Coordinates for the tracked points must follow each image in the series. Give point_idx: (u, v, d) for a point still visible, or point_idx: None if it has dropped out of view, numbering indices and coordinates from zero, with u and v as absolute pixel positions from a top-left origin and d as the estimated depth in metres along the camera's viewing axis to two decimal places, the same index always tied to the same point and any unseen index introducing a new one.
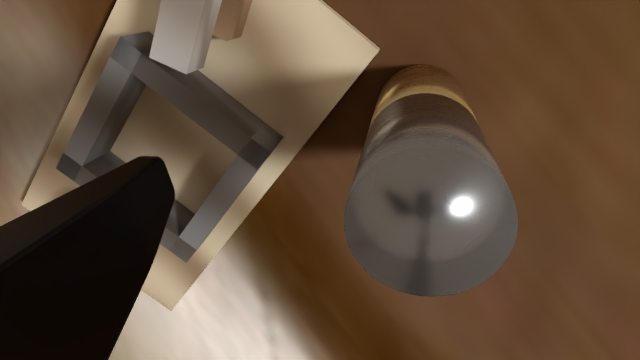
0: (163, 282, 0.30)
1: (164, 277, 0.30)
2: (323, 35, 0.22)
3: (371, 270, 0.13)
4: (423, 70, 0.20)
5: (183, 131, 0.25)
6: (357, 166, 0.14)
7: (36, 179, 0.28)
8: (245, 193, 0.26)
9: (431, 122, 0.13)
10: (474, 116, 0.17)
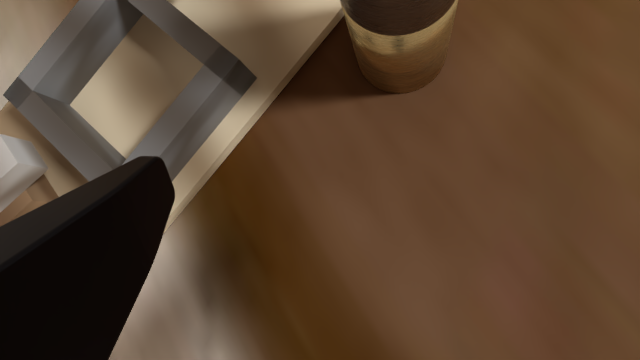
0: None
1: None
2: None
3: None
4: None
5: (152, 78, 0.24)
6: None
7: None
8: (206, 146, 0.23)
9: None
10: None
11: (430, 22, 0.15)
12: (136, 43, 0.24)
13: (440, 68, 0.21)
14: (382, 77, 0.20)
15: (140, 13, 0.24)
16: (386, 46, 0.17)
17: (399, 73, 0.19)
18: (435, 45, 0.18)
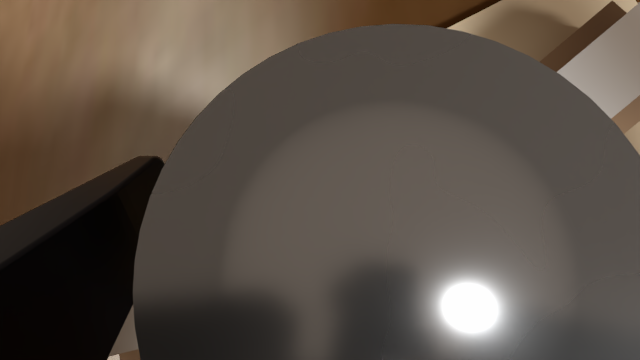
0: None
1: None
2: None
3: None
4: None
5: None
6: None
7: None
8: None
9: None
10: None
11: None
12: None
13: None
14: None
15: None
16: None
17: None
18: None
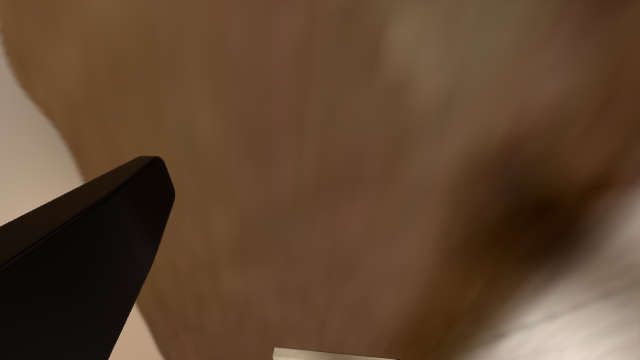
0: None
1: None
2: None
3: None
4: None
5: None
6: None
7: None
8: None
9: None
10: None
11: None
12: None
13: None
14: None
15: None
16: None
17: None
18: None
